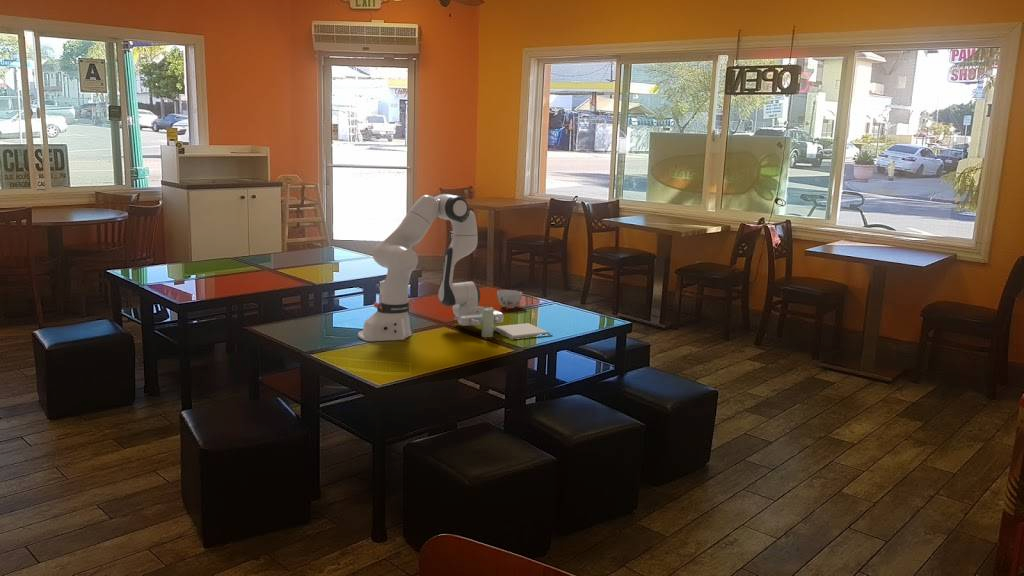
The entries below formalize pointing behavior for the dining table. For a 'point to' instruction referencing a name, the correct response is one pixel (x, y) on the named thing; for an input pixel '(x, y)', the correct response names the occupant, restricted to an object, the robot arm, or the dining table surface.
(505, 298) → the teacup
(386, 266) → the robot arm
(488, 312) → the grey upright block
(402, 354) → the dining table surface
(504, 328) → the tile
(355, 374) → the dining table surface
